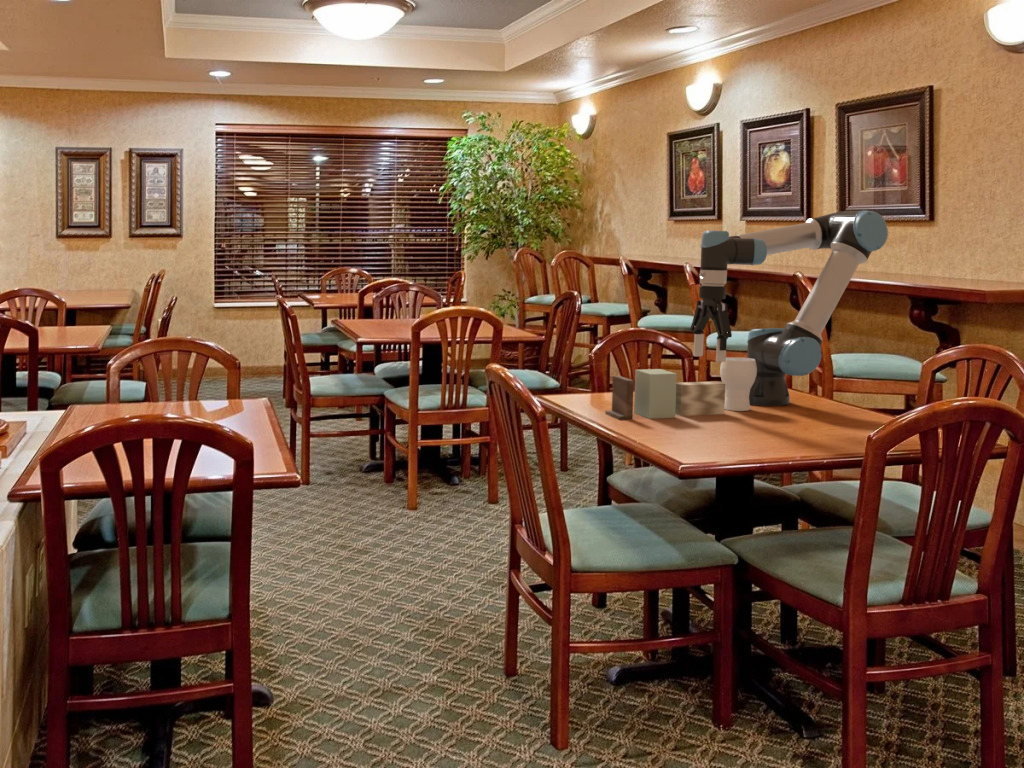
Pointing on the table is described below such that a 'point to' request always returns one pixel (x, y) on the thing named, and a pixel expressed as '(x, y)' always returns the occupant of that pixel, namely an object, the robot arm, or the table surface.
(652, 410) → the block
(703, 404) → the peg
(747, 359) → the cup
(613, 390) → the wall
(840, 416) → the table surface
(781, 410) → the table surface
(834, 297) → the robot arm
